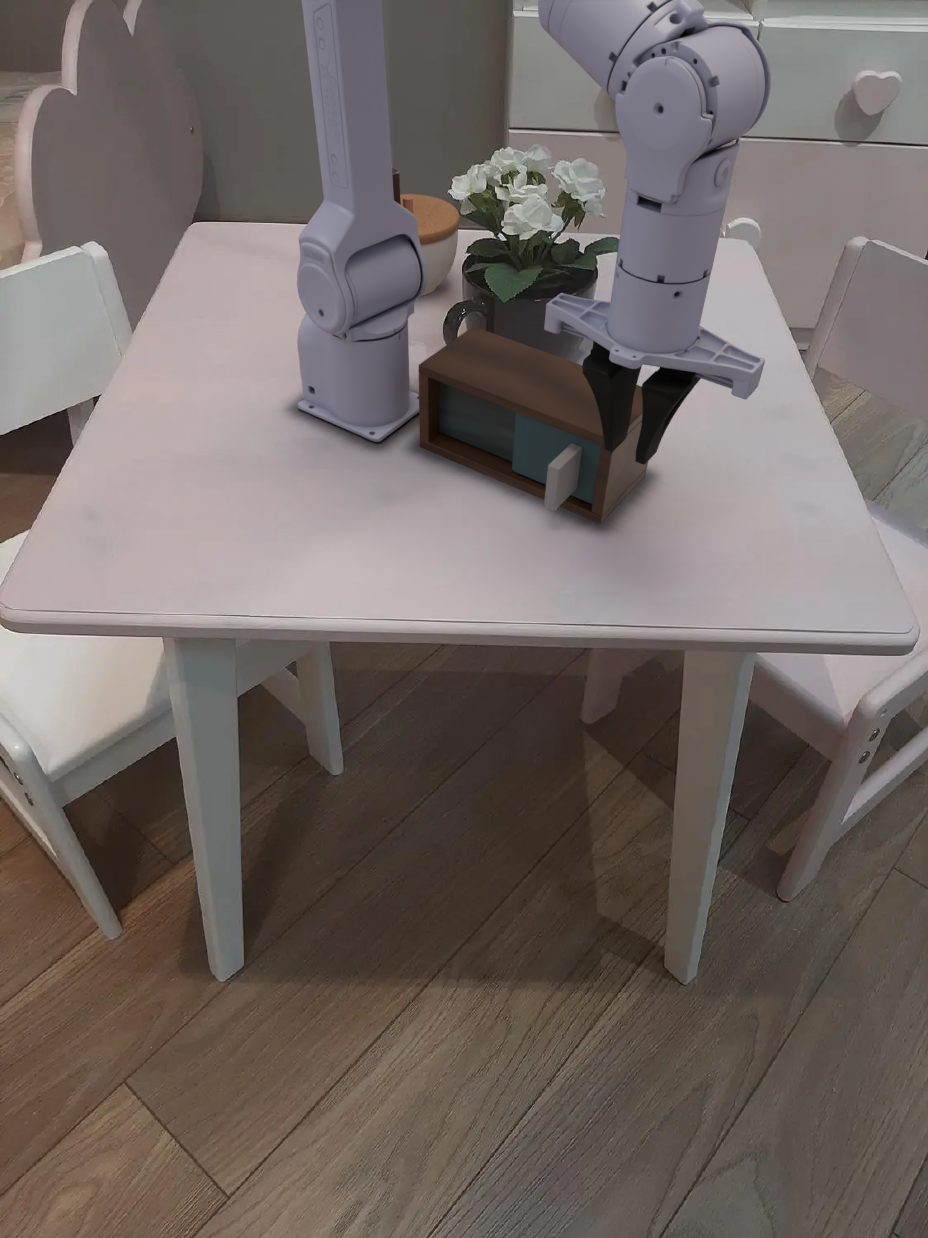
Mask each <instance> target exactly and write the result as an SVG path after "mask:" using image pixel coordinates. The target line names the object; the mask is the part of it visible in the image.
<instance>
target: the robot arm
mask: <svg viewBox="0 0 928 1238" xmlns="http://www.w3.org/2000/svg"><path fill="white" fill-rule="evenodd" d="M382 4H383V3H382V0H301V6H302V7H301V9H302V17H303V24H304V25H303V27H304V33H305V42H306V43H305V44H306V52H307V60H308V61H307V62H308V69H309V77H310V78H309V79H310V80H309V81H310V88H311V97H312V105H313V115H314V122H315V123H314V124H315V132H316V141H317V150H318V159H319V167H320V168H319V169H320V178H321V186H322V193H323V194H322V195H323V200H322V202H321V204H320V206H319V207H318V209H316V211H315V213H314V214H313V216H312V217H311V218H310V220H309V221H308V223H307V224H306V225H305V226H304V228H303V229H302V230H301V232H300V234H299V236H298V244H299V265H298V267H297V275H296V287H297V294H298V297H299V300H300V304H301V306H302V308H303V310H304V311H305V314H304V316H303V318H302V319H301V322H300V324H299V328H298V332H297V338H296V339H297V340H296V343H297V354H298V363H299V371H300V380H301V381H300V382H301V389H302V398H303V399H301V400H300V401H298V402H297V408H298V409H299V410H301V411H303V412H305V413H307V414H310V415H313V416H315V417H317V418H319V419H322V420H324V421H326V422H329V423H331V424H333V425H336V426H337V427H340V428H342V429H345V430H347V431H349V432H351V433H353V434H356V435H358V436H360V437H363V438H365V439H367V440H370V441H372V442H375V443H380V442H382V441H384V439H386V438H387V437H388V436H389V435H391V434H392V433H393V432H395V431H396V430H397V429H399V428H400V427H401V426H403V425H404V424H405V423H407V422H408V421H410V420H411V419H412V418H413V417H414V416H416V415H418V414H419V393H416V392H414V391H412V390H410V352H409V349H410V348H409V345H410V344H409V317H410V316H411V315H414V313H415V300H417V299H419V298H420V297H422V296H421V295H422V294H423V292H424V291H425V288H426V285H427V279H428V269H427V263H426V259H425V255H424V253H423V250H422V248H421V245H420V241H419V236H418V224H417V218H416V217H415V216H414V215H413V214H412V213H411V212H410V211H409V210H407V209H406V208H404V207H403V206H401V205H400V204H398V203H397V202H395V201H394V194H393V178H392V168H393V166H392V165H393V164H392V163H393V162H392V149H391V148H392V147H391V132H390V131H391V130H390V116H389V100H388V99H389V98H388V85H387V84H388V83H387V68H386V65H387V64H386V53H385V52H386V51H385V36H384V35H385V34H384V20H383V19H384V18H383V5H382ZM537 13H538V19H539V23H540V26H541V28H542V29H543V30H544V31H545V32H546V33H547V34H548V35H549V36H550V37H551V38H552V39H553V40H554V42H556V43H557V44H558V45H559V47H560V48H562V50H563V51H565V53H567V55H569V56H570V57H571V58H572V60H573V61H575V62H576V63H577V65H579V66H580V68H582V70H583V71H584V72H585V73H586V74H587V75H588V76H589V77H590V78H591V79H592V80H593V81H594V82H595V83H596V84H597V85H598V86H599V87H600V88H601V89H602V90H603V91H604V92H605V93H606V94H607V95H608V96H609V97H610V98H611V99H612V101H614V103H615V105H614V106H615V120H616V125H617V129H618V132H619V135H620V137H621V140H622V142H623V144H624V148H625V152H626V160H625V161H626V162H625V170H624V177H623V178H624V179H626V180H627V182H626V188H625V189H626V190H625V197H624V205H623V211H622V220H621V224H620V232H619V238H618V239H619V240H618V246H617V252H616V261H615V268H614V274H613V281H612V289H611V295H610V301H606V300H598V299H591V298H585V297H579V296H575V295H571V294H568V293H563V292H560V293H559V294H557V296H554V297H553V298H552V299H551V300H550V301H548V302H547V303H545V316H544V317H545V318H544V327H543V330H544V331H546V332H549V333H552V334H555V335H558V334H560V333H561V332H562V331H563V332H566V333H568V334H571V335H574V336H576V337H579V338H583V339H586V340H588V341H591V342H592V348H591V349H590V353H589V354H588V355H587V356H586V357H585V358H583V361H582V365H583V366H582V369H583V374H584V376H585V378H586V379H587V381H588V383H589V385H590V387H591V389H592V392H593V394H594V397H595V400H596V403H597V406H598V410H599V414H600V419H601V424H602V431H603V439H604V448H605V450H607V451H610V452H613V451H614V450H615V449H616V448H617V447H618V446H619V445H620V444H621V443H622V442H623V441H624V440H625V439H626V436H627V433H628V429H629V425H630V419H631V412H632V405H633V398H634V393H635V389H636V385H638V381H639V377H640V374H641V370H642V367H643V365H644V366H649V367H657V368H658V367H659V368H658V369H657V370H655V371H654V372H653V373H652V374H651V375H649V377H648V378H646V380H645V381H643V383H641V386H642V389H641V390H642V402H643V410H642V425H641V431H640V435H639V439H638V444H637V448H636V458H635V462H638V463H640V464H646V463H647V462H648V463H649V461H650V460H651V459H652V458H653V457H654V456H655V455H656V453H657V452H658V449H659V447H660V444H661V441H662V439H663V437H664V435H665V433H666V432H667V431H666V430H667V429H668V426H669V425H670V423H671V422H672V420H673V418H674V417H675V414H676V413H677V412H678V410H679V409H680V407H681V406H682V404H683V402H685V400H686V398H687V397H688V396H689V394H690V393H691V392H692V390H693V389H694V388H695V386H696V385H697V384H698V383H699V382H700V380H705V381H708V382H710V383H712V384H713V383H714V384H716V385H719V386H722V387H724V388H728V389H731V392H730V393H731V395H732V396H733V397H736V398H740V399H742V400H745V401H746V400H748V398H750V396H751V395H752V394H753V393H754V392H755V391H756V390H757V388H758V387H759V384H760V381H761V378H762V373H763V370H764V367H765V363H766V359H765V358H763V357H760V356H758V355H755V354H752V353H750V352H748V351H745V350H743V349H741V348H739V347H738V346H736V345H735V344H733V343H731V342H729V341H727V340H726V339H724V338H722V337H720V336H719V335H718V334H715V333H713V332H711V331H710V330H708V329H707V328H704V327H703V326H701V322H702V321H701V320H702V317H703V316H702V315H703V311H704V307H705V302H706V299H707V294H708V289H709V285H710V279H711V274H712V270H713V267H714V263H715V257H716V253H717V249H718V244H719V240H720V234H721V231H722V225H723V221H724V216H725V212H726V207H727V202H728V198H729V193H730V188H731V183H732V178H733V175H734V174H733V173H734V169H735V165H736V160H737V155H738V151H739V146H740V143H739V142H734V141H737V140H738V139H740V138H741V137H742V136H744V135H746V134H747V133H749V131H750V130H752V129H753V127H755V126H756V124H757V123H758V122H759V120H760V119H761V117H762V115H763V114H764V113H765V110H766V108H767V105H768V102H769V98H770V94H771V86H772V75H771V67H770V63H769V59H768V57H767V53H766V52H765V49H764V47H763V46H762V44H761V43H760V42H759V40H758V39H757V38H756V37H755V35H754V32H753V31H752V29H751V27H750V26H749V25H747V24H746V23H744V22H741V21H738V20H733V19H722V20H716V21H712V20H709V19H708V18H707V17H705V15H704V14H705V6H704V5H703V4H702V3H700V1H699V0H537ZM733 142H734V143H733ZM731 143H732V144H731ZM728 144H729V145H728Z"/></svg>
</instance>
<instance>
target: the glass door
mask: <svg viewBox="0 0 928 1238" xmlns="http://www.w3.org/2000/svg"><path fill="white" fill-rule="evenodd" d="M600 451H601V444H598V443H596V442H593V441H591V440H588V439H586V438H583V437H580V436H578V435H575V434H573V433H570V432H568V431H565V430H563V429H560V428H557V427H555V426H552V425H550V424H547V423H545V422H542V421H540V420H537V419H534V418H532V417H529V416H527V415H524V414H522V413H519V412H517V411H516V421H515V435H514V449H513V463H512V471H515V472H517V473H519V474H522V475H524V476H527V477H529V478H531V479H534V480H536V481H538V482H541V483H543V484H546V491H545V500H544V503H543V507H544V508H546V509H549V510H551V511H553V512H555V511H556V510H557V509H558V508H559V507H560V505H561V504H562V503H563V502H564V501H565V500H566V499H567V498H568V497H569V496H570V495H572V496H574V497H576V498H579V499H581V500H584V501H586V502H588V503H591V504H592V503H593V497H594V490H595V483H596V477H597V470H598V464H599V457H600Z"/></svg>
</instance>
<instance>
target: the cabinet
mask: <svg viewBox="0 0 928 1238" xmlns="http://www.w3.org/2000/svg"><path fill="white" fill-rule="evenodd" d="M582 366H583V364H581V363H578V362H574V361H572V360H569V359H566V358H564V357H561V356H557V355H555V354H552V353H549V352H547V351H545V350H544V351H543V350H541V349H538V348H535V347H533V346H529V345H527V344H524V343H521V342H518V341H516V340H512V339H510V338H507V337H504V336H502V335H499V334H496V333H493V332H490V331H488V330H484V329H482V328H479V327H477V326H472V327H470V328H469V329H467V330H466V331H464V332H463V333H462V334H460V335H459V336H457V337H456V338H454V339H453V340H452V341H450V342H449V343H447V344H446V345H445V346H444V347H442V348H440V349H439V350H438V351H436V352H435V353H433V354H432V355H430V356H429V357H428V358H426V359H425V360H423V361H422V362H420V363H419V364H418V394H419V413H418V419H419V420H418V421H419V422H418V423H419V430H418V431H419V447H420V448H423V449H425V450H427V451H429V452H431V453H434V454H436V455H439V456H441V457H443V458H446V459H448V460H451V461H453V462H455V463H458V464H460V465H462V466H465V467H467V468H468V469H469V468H470V469H471V470H473V471H475V472H478V473H480V474H483V475H486V476H488V477H490V478H493V479H495V480H497V481H499V482H502V483H504V484H507V485H509V486H511V487H514V488H516V489H518V490H520V491H522V492H526V493H527V494H530V495H532V496H534V497H537V498H539V499H541V500H544V501H545V491H546V484H543V483H541V482H538V481H536V480H534V479H531V478H529V477H527V476H524V475H522V474H519V473H517V472H515V471H512V463H513V449H514V435H515V421H516V411H517V412H519V413H522V414H524V415H527V416H529V417H532V418H534V419H537V420H540V421H542V422H545V423H547V424H550V425H552V426H555V427H557V428H560V429H563V430H565V431H568V432H570V433H573V434H575V435H578V436H580V437H583V438H586V439H588V440H591V441H593V442H596V443H598V444H601V451H600V457H599V464H598V470H597V477H596V483H595V490H594V497H593V503H592V504H591V503H588V502H586V501H584V500H581V499H579V498H576V497H574V496H572V495H570V496H569V497H568V498H567V499H566V500H565V501H564V502H563V503H562V504H561V505H560V506H559V507H560V508H563V509H565V510H567V511H569V512H571V513H574V514H576V515H579V516H581V517H583V518H586V519H588V520H591V521H592V522H595V523H598V524H600V525H601V524H602V523H603V522H604V521H605V520H606V519H607V518H608V516H609V515H610V514H612V512H613V511H614V510H615V509H616V508H617V507H618V506H619V505H620V503H621V502H622V501H623V500H625V498H626V497H627V496H628V495H629V493H631V491H633V490H634V488H635V487H636V486H637V485H638V484H639V483H640V482H641V481H642V479H644V478H645V477H646V475H647V471H648V470H647V468H648V466H649V465H648V464H649V461H648V462H647V463H646V464H640V463H638V462H635V458H636V448H637V444H638V439H639V435H640V431H641V425H642V410H643V402H642V390H641V389H642V385H640V384H637V385H636V389H635V393H634V398H633V405H632V412H631V419H630V425H629V429H628V433H627V436H626V439H625V440H624V441H623V442H622V443H621V444H620V445H619V446H618V447H617V448H616V449H615V450H614V451H613V452H610V451H607V450H605V448H604V439H603V431H602V424H601V419H600V414H599V410H598V406H597V403H596V400H595V397H594V394H593V392H592V389H591V387H590V385H589V383H588V381H587V379H586V378H585V376H584V374H583V369H582Z"/></svg>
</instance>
